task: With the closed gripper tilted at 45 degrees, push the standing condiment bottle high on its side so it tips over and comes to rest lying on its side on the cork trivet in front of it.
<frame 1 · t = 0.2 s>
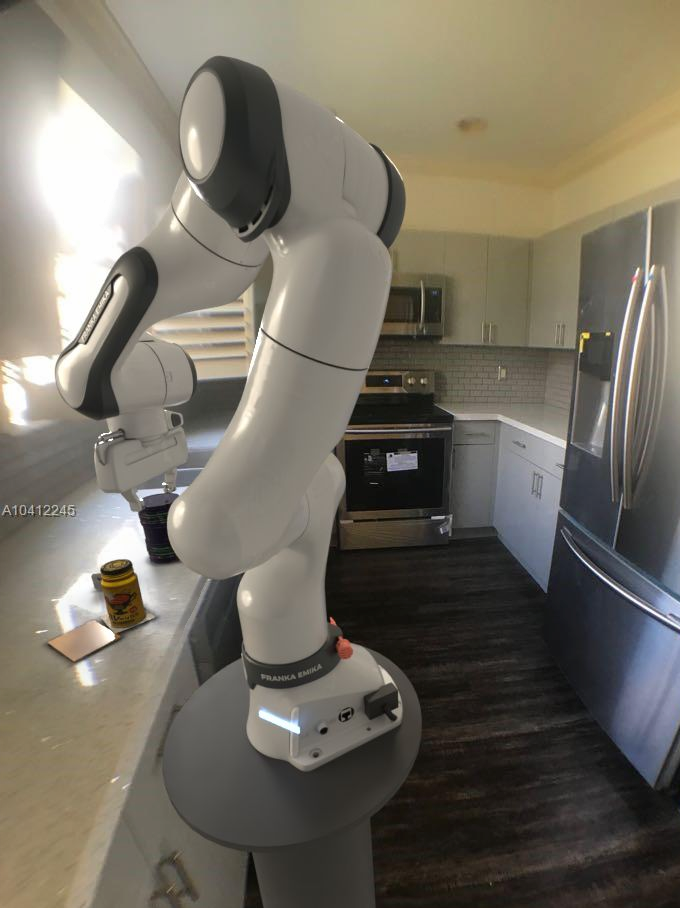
hand: (155, 500, 82), 24 cm above the worktop, tool pointing down, fingers open, 8 cm apart
usb wall charger: (110, 582, 104), on the worktop
cork trivet: (84, 640, 83), on the worktop
condiment: (127, 618, 90), on the worktop, touching cork trivet
storage jar: (170, 555, 115), on the worktop
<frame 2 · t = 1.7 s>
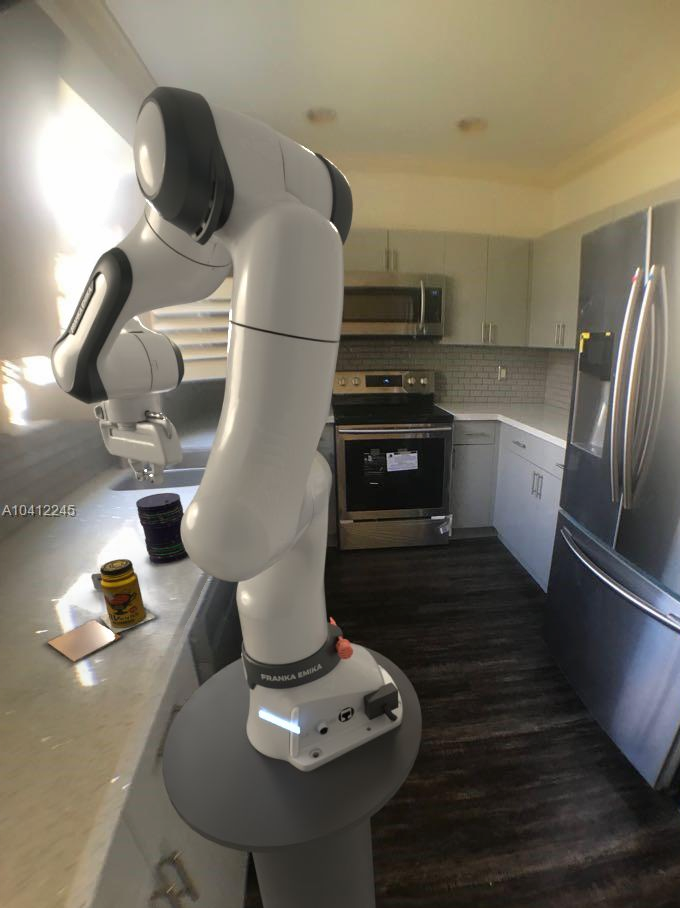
hand: (150, 481, 88), 25 cm above the worktop, tool pointing down, fingers open, 4 cm apart
nothing on the worktop moved.
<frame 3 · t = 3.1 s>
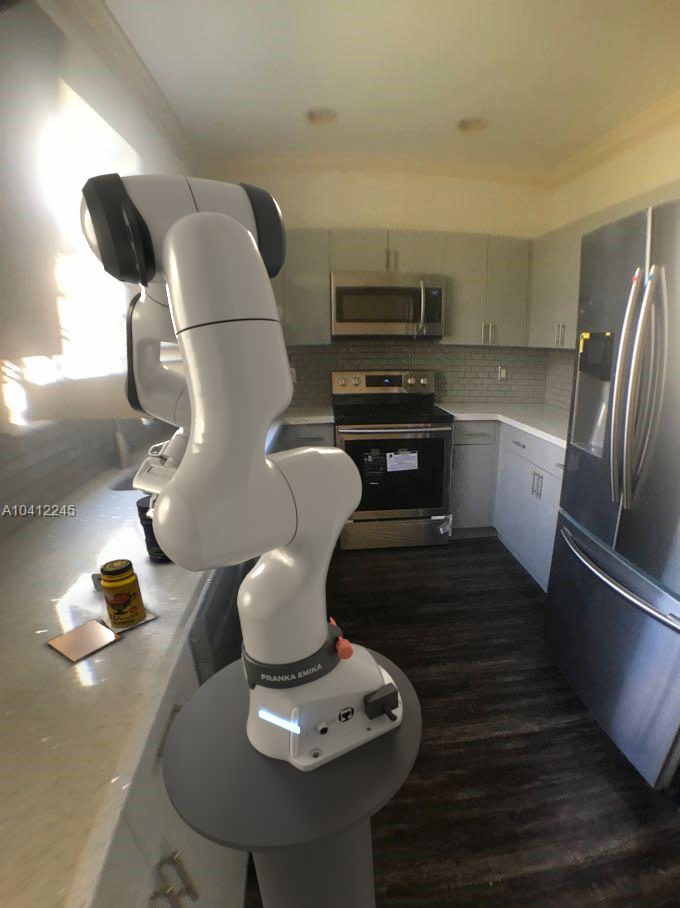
hand: (153, 518, 90), 18 cm above the worktop, tool tilted 45°, fingers closed
nothing on the worktop moved.
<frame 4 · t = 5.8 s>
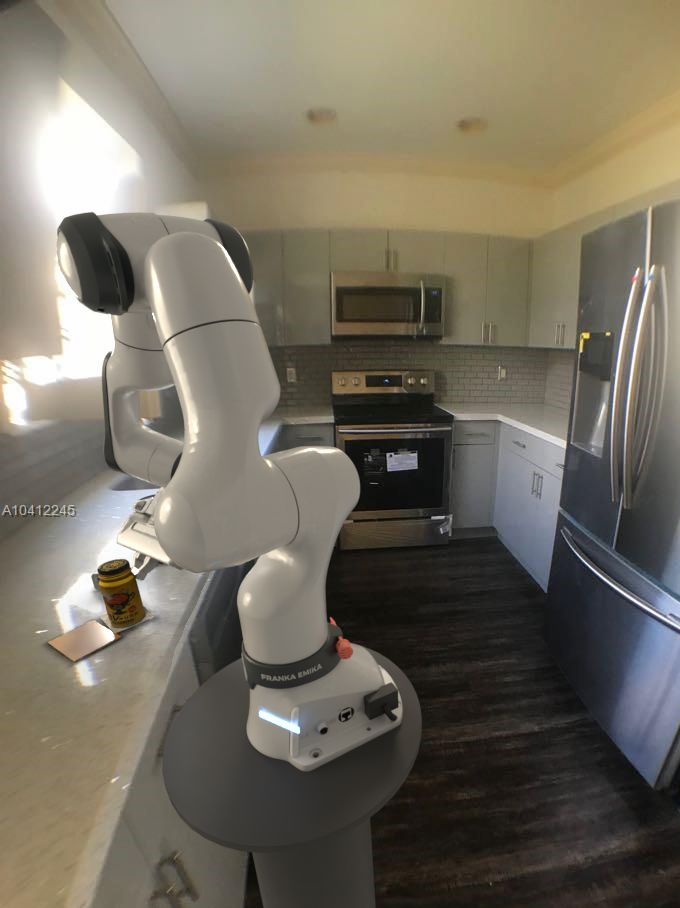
hand: (135, 578, 90), 7 cm above the worktop, tool tilted 45°, fingers closed
condiment: (127, 618, 90), on the worktop, touching cork trivet, gripper
everything else where it was.
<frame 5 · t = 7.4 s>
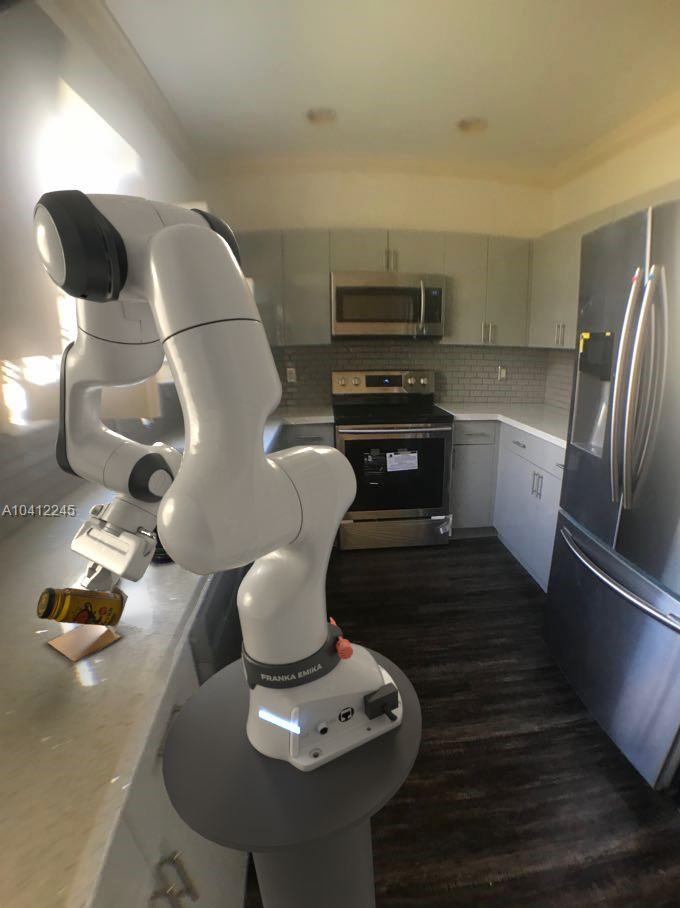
hand: (87, 588, 83), 9 cm above the worktop, tool tilted 45°, fingers closed, pressing on condiment
condiment: (115, 607, 88), point 3 cm above the worktop, touching cork trivet, gripper
everything else where it was.
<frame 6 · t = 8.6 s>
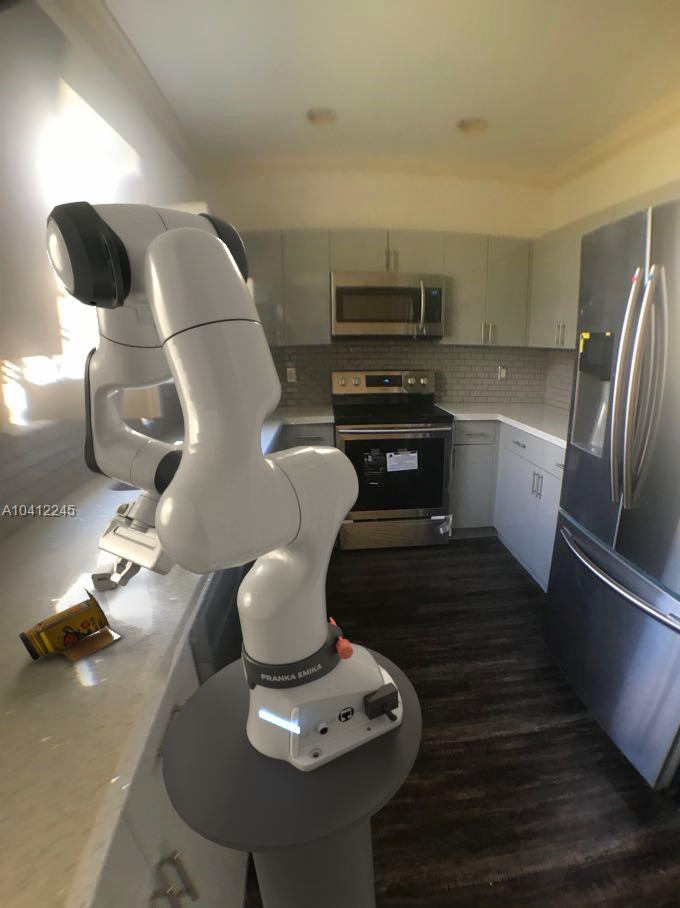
hand: (117, 584, 87), 8 cm above the worktop, tool tilted 45°, fingers closed
condiment: (100, 608, 85), point 4 cm above the worktop
everything else where it was.
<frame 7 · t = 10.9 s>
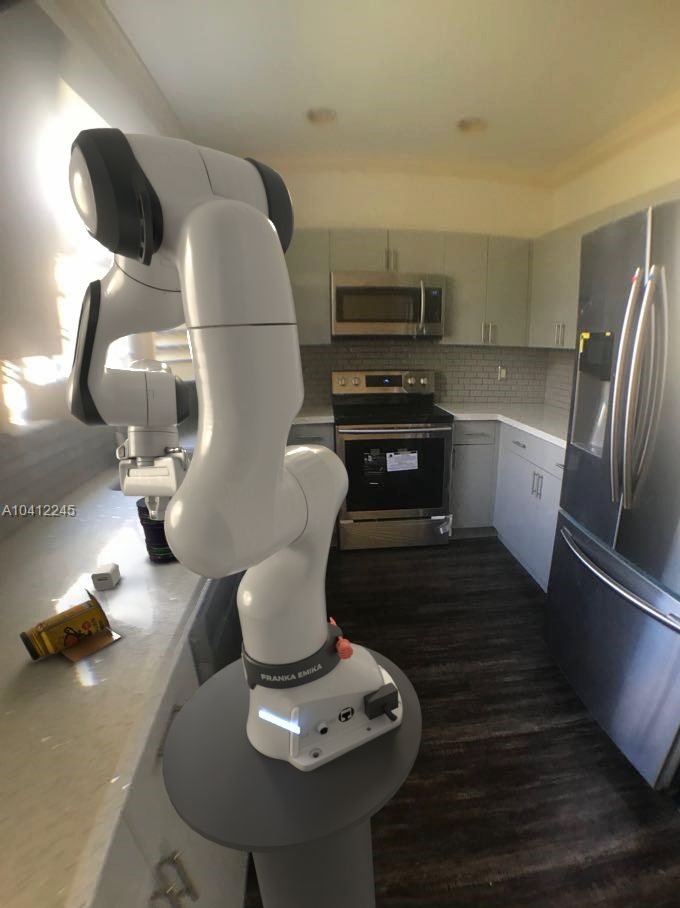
hand: (158, 519, 90), 18 cm above the worktop, tool tilted 15°, fingers closed
condiment: (101, 609, 86), point 4 cm above the worktop, touching cork trivet
everything else where it was.
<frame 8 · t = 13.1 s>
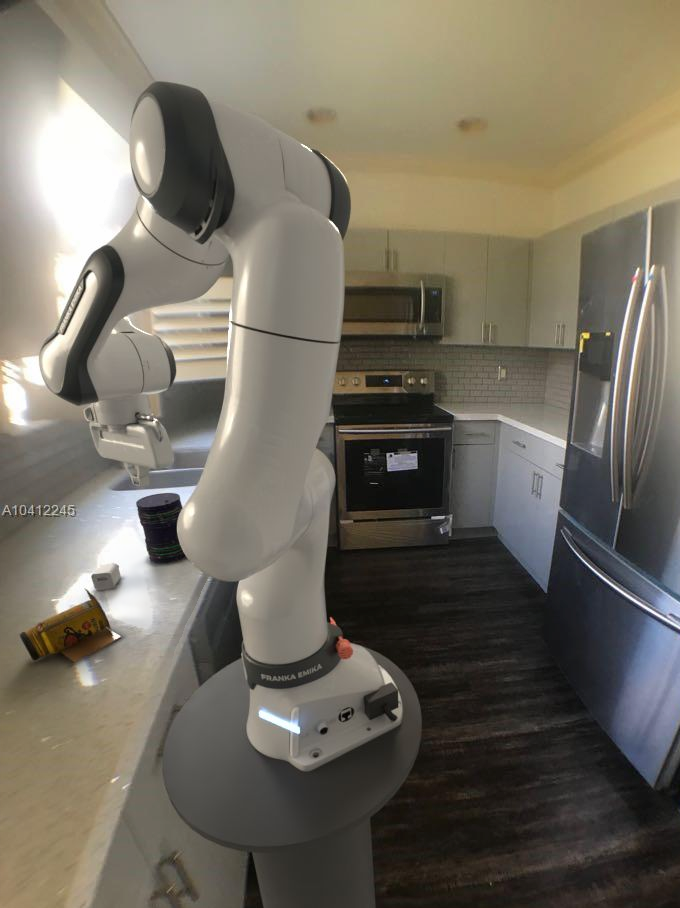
hand: (141, 484, 87), 25 cm above the worktop, tool pointing down, fingers closed
nothing on the worktop moved.
at the end: condiment tilted 94°; condiment touching cork trivet; the gripper is holding nothing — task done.
